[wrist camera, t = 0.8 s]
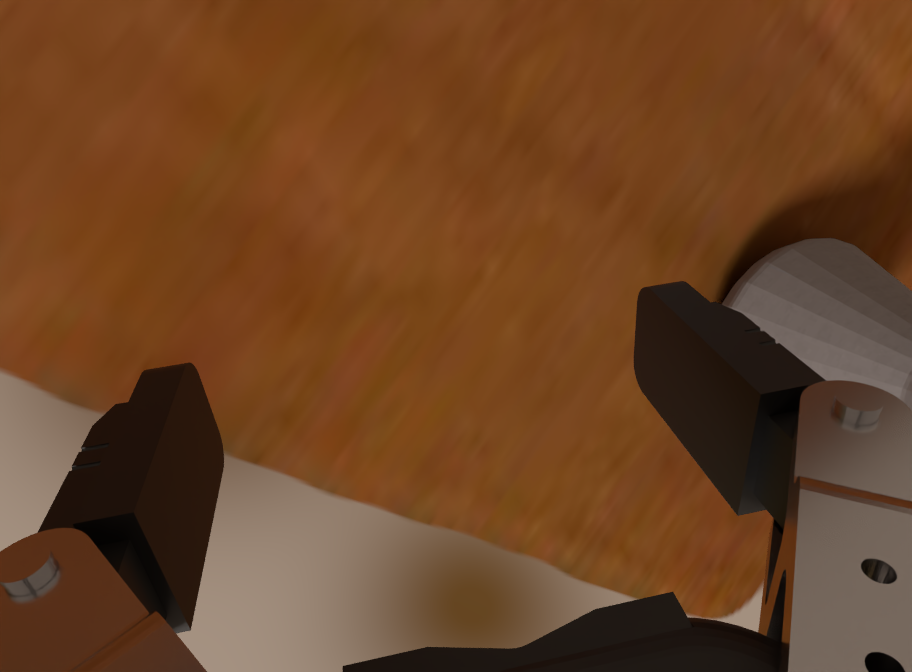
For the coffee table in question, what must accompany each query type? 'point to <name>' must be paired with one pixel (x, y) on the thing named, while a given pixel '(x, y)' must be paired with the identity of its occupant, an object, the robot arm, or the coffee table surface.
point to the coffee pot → (833, 312)
